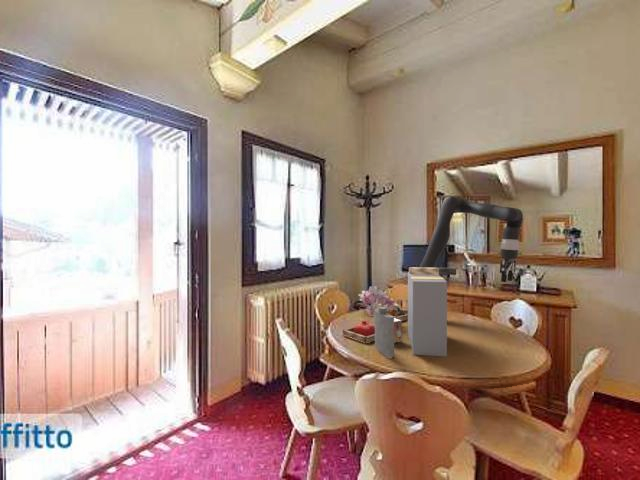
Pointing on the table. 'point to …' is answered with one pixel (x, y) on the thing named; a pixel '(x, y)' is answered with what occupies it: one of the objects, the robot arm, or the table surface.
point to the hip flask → (384, 332)
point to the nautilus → (394, 312)
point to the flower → (380, 298)
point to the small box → (397, 330)
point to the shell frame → (402, 317)
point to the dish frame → (358, 335)
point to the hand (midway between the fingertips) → (506, 281)
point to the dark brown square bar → (432, 271)
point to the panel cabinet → (427, 314)
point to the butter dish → (364, 329)
